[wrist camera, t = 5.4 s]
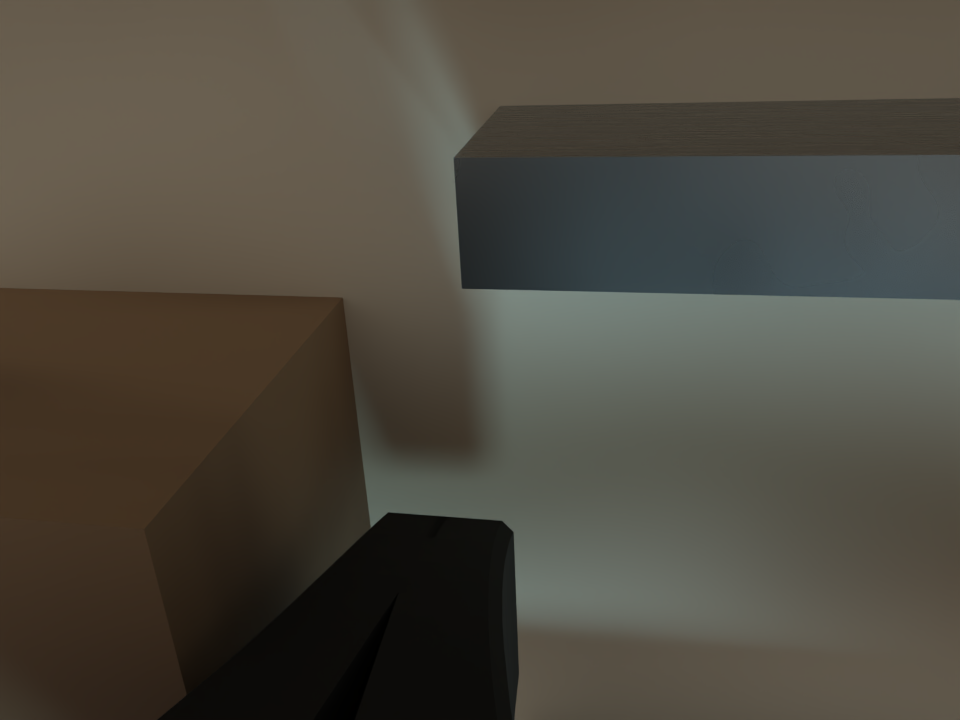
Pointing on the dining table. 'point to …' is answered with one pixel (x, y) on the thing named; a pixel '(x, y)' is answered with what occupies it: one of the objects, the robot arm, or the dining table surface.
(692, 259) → the grey metal bar
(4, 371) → the walnut block
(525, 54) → the grey flat piece
